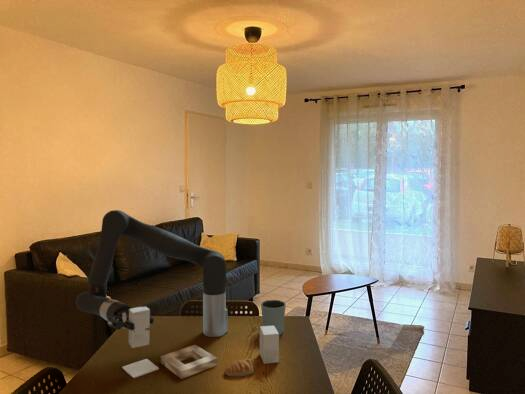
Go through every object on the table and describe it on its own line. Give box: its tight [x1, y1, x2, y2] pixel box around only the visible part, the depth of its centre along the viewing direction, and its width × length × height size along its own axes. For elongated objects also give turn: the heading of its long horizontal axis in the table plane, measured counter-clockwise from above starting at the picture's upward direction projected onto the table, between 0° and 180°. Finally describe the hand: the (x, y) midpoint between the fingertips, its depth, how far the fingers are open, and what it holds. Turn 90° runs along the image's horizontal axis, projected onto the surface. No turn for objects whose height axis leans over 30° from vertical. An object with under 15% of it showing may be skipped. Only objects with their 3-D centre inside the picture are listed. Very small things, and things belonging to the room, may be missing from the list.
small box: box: [259, 325, 280, 365], centre depth 146 cm, size 8×6×10 cm
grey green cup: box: [260, 299, 287, 336], centre depth 169 cm, size 10×10×12 cm
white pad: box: [121, 358, 160, 379], centre depth 138 cm, size 9×9×1 cm
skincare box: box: [128, 305, 151, 349], centre depth 137 cm, size 6×4×12 cm
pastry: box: [224, 358, 255, 378], centre depth 136 cm, size 9×7×4 cm
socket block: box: [160, 344, 218, 380], centre depth 141 cm, size 14×14×2 cm
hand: (143, 323), depth 135 cm, fingers closed on skincare box, 7 cm apart
